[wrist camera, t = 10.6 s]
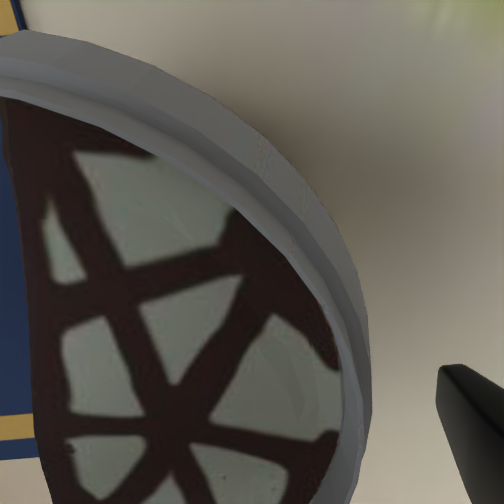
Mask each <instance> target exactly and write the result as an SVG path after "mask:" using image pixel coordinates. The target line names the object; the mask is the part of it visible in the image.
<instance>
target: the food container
mask: <svg viewBox="0 0 504 504" xmlns="http://www.w3.org/2000/svg"><path fill="white" fill-rule="evenodd" d="M0 117H1V123H2V153H3V156H4V160H5V163H6V166H7V169H8V172H9V175H10V179H11V185H12V190H13V195H14V201H15V206H16V212H17V220H18V229H19V237H20V246H21V254H22V263H23V271H24V280H25V292H26V304H27V317H28V330H29V352H30V379H31V396H32V410H33V428H34V436H35V440H36V445H37V449H38V453H39V457H40V461H41V466H42V469H43V472H44V475H45V479H46V482H47V485H48V488H49V491H50V494H51V498H52V502H53V504H349V503H350V500H351V498H352V495H353V493H354V490H355V488H356V485H357V483H358V477H359V472H360V466H361V460H362V458H363V455H364V453H365V449H366V444H367V438H368V433H369V427H370V422H371V416H372V383H371V360H370V345H369V330H368V316H367V311H366V307H365V303H364V299H363V294H362V290H361V286H360V282H359V277H358V273H357V270H356V268H355V266H354V263H353V261H352V259H351V257H350V254H349V252H348V250H347V248H346V245H345V243H344V241H343V239H342V236H341V234H340V232H339V230H338V227H337V226H336V224H335V223H334V221H333V220H332V218H331V217H330V215H329V214H328V212H327V211H326V209H325V208H324V206H323V205H322V203H321V202H320V200H319V199H318V197H317V196H316V194H315V193H314V191H313V190H312V188H311V187H310V185H309V184H308V182H307V181H306V180H305V179H304V178H303V177H302V176H301V175H300V174H299V172H298V171H297V170H296V169H295V168H294V167H293V166H292V165H291V164H290V163H289V162H288V161H287V160H286V159H285V158H284V157H283V156H282V155H281V153H280V152H279V151H278V150H277V149H276V148H275V147H274V146H273V145H272V144H271V143H270V142H269V141H268V140H267V139H266V138H265V137H264V136H263V135H261V134H260V133H259V132H257V131H256V130H255V129H254V128H252V127H251V126H250V125H248V124H247V123H246V122H244V121H243V120H242V119H241V118H239V117H238V116H237V115H235V114H234V113H233V112H231V111H230V110H229V109H227V108H226V107H225V106H224V105H222V104H221V103H220V102H218V101H217V100H216V99H214V98H213V97H211V96H209V95H207V94H205V93H203V92H202V91H200V90H198V89H196V88H194V87H192V86H191V85H189V84H187V83H185V82H183V81H181V80H180V79H178V78H176V77H174V76H172V75H170V74H169V73H167V72H165V71H163V70H161V69H159V68H158V67H156V66H154V65H151V64H148V63H145V62H143V61H140V60H137V59H134V58H132V57H129V56H126V55H123V54H120V53H118V52H115V51H112V50H109V49H106V48H104V47H101V46H98V45H95V44H92V43H90V42H87V41H82V40H76V39H71V38H66V37H61V36H56V35H50V34H45V33H40V32H35V31H30V30H21V31H18V32H16V33H13V34H10V35H7V36H5V37H2V38H0Z"/></svg>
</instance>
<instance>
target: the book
mask: <svg viewBox="0 0 504 504" xmlns="http://www.w3.org/2000/svg"><path fill="white" fill-rule="evenodd" d="M21 30H26V26H25V23H24V19H23V16H22V13H21V9H20V6H19V2H18V0H0V38H2V37H5V36H7V35H10V34H13V33H16V32H18V31H21ZM34 457H39V453H38V449H37V445H36V440H35V436H34V428H33V410H32V396H31V379H30V352H29V330H28V317H27V304H26V292H25V280H24V271H23V263H22V254H21V246H20V237H19V229H18V220H17V212H16V206H15V201H14V195H13V190H12V185H11V179H10V175H9V172H8V169H7V166H6V163H5V160H4V156H3V153H2V123H1V117H0V460H10V459H22V458H34Z"/></svg>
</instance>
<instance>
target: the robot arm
mask: <svg viewBox="0 0 504 504" xmlns="http://www.w3.org/2000/svg"><path fill="white" fill-rule="evenodd" d="M436 407H437V411H438V415H439V417H440V420H441V423H442V426H443V428H444V431H445V434H446V437H447V439H448V442H449V445H450V448H451V450H452V453H453V456H454V459H455V461H456V464H457V467H458V470H459V472H460V475H461V478H462V481H463V483H464V486H465V488H466V491H467V494H468V496H469V498H470V500H471V502H472V504H504V389H503V388H501V387H500V386H498V385H496V384H495V383H493V382H492V381H490V380H488V379H487V378H485V377H484V376H482V375H480V374H479V373H477V372H476V371H474V370H472V369H471V368H469V367H468V366H466V365H463V364H452V365H443V366H441V367H440V368H439V371H438V378H437V390H436Z"/></svg>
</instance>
